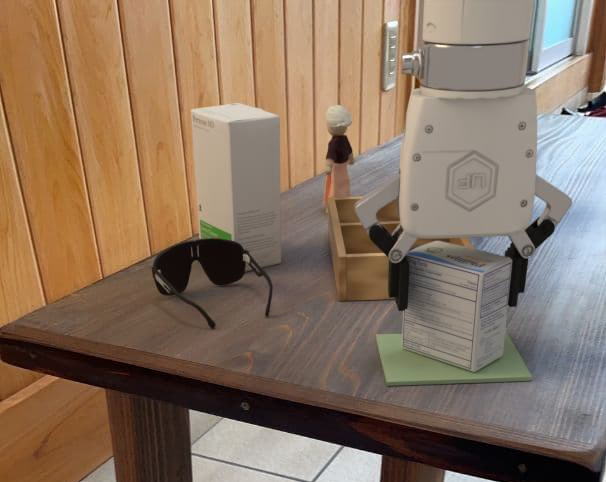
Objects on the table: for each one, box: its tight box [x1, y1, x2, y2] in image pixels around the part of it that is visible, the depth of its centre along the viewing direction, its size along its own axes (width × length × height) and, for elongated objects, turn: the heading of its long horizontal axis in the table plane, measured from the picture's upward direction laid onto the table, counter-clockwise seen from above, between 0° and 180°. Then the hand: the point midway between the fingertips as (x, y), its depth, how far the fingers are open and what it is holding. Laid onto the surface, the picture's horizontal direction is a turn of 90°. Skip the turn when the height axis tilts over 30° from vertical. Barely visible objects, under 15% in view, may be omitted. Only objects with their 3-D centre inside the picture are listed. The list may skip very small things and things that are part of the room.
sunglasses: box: [151, 238, 273, 329], centre depth 85 cm, size 10×12×5 cm
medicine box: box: [401, 241, 512, 372], centre depth 72 cm, size 8×4×9 cm, turn 45°
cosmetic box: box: [190, 102, 282, 273], centre depth 93 cm, size 8×7×16 cm
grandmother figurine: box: [322, 104, 356, 215], centre depth 109 cm, size 8×4×13 cm, turn 164°
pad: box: [375, 329, 533, 387], centre depth 74 cm, size 12×10×1 cm
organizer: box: [327, 195, 475, 302], centre depth 94 cm, size 14×22×4 cm, turn 1°
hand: (454, 302), depth 71 cm, fingers closed on medicine box, 8 cm apart
